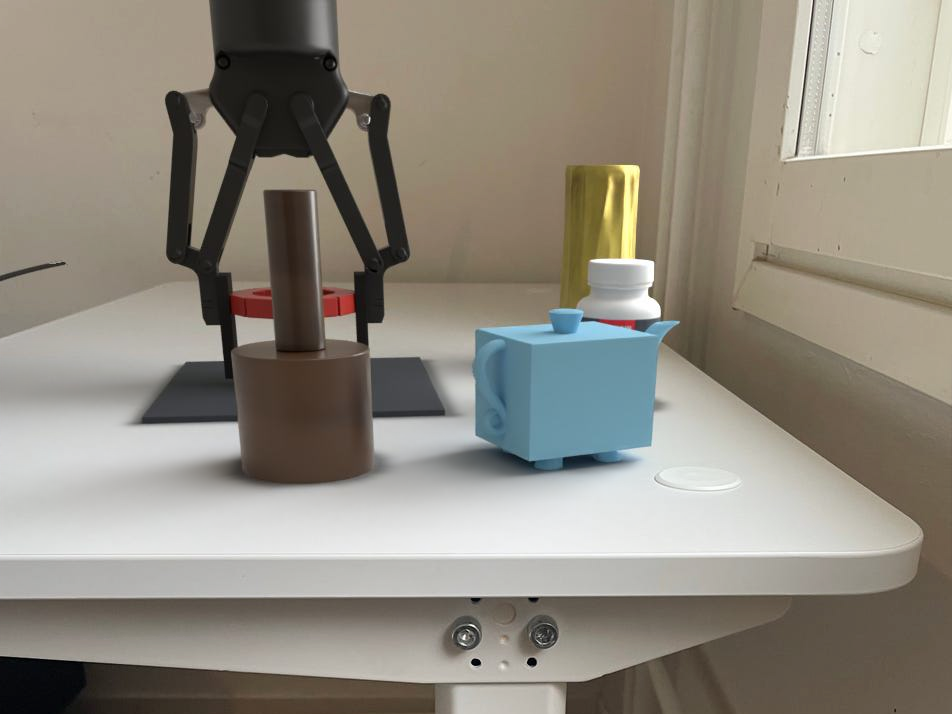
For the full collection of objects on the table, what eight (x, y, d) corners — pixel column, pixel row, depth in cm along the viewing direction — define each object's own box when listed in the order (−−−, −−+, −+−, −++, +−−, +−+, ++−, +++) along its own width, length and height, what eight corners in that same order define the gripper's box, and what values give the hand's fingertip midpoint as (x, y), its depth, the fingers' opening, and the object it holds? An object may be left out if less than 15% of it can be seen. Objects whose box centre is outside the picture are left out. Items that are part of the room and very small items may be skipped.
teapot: (638, 433, 59) (647, 297, 56) (703, 457, 54) (716, 308, 51) (449, 455, 54) (448, 308, 51) (501, 484, 49) (502, 322, 46)
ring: (237, 304, 71) (235, 286, 71) (355, 303, 72) (354, 285, 72) (226, 320, 64) (224, 300, 64) (357, 318, 65) (356, 298, 65)
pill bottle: (589, 418, 63) (596, 265, 59) (559, 401, 67) (564, 258, 63) (667, 413, 64) (679, 263, 60) (633, 397, 69) (642, 256, 65)
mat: (186, 369, 78) (185, 361, 78) (420, 364, 81) (419, 356, 80) (142, 427, 60) (141, 417, 60) (445, 419, 62) (445, 409, 62)
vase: (593, 379, 75) (603, 164, 69) (536, 368, 79) (541, 165, 73) (649, 370, 78) (663, 165, 72) (592, 360, 82) (601, 165, 76)
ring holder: (248, 456, 54) (222, 189, 49) (372, 452, 55) (361, 188, 50) (237, 490, 48) (207, 190, 43) (377, 485, 49) (364, 190, 44)
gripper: (74, -32, 56) (131, 387, 65) (454, -22, 58) (456, 381, 68) (102, -10, 63) (150, 367, 72) (442, -2, 65) (445, 362, 75)
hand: (298, 373), depth 70 cm, fingers closed on ring, 8 cm apart
